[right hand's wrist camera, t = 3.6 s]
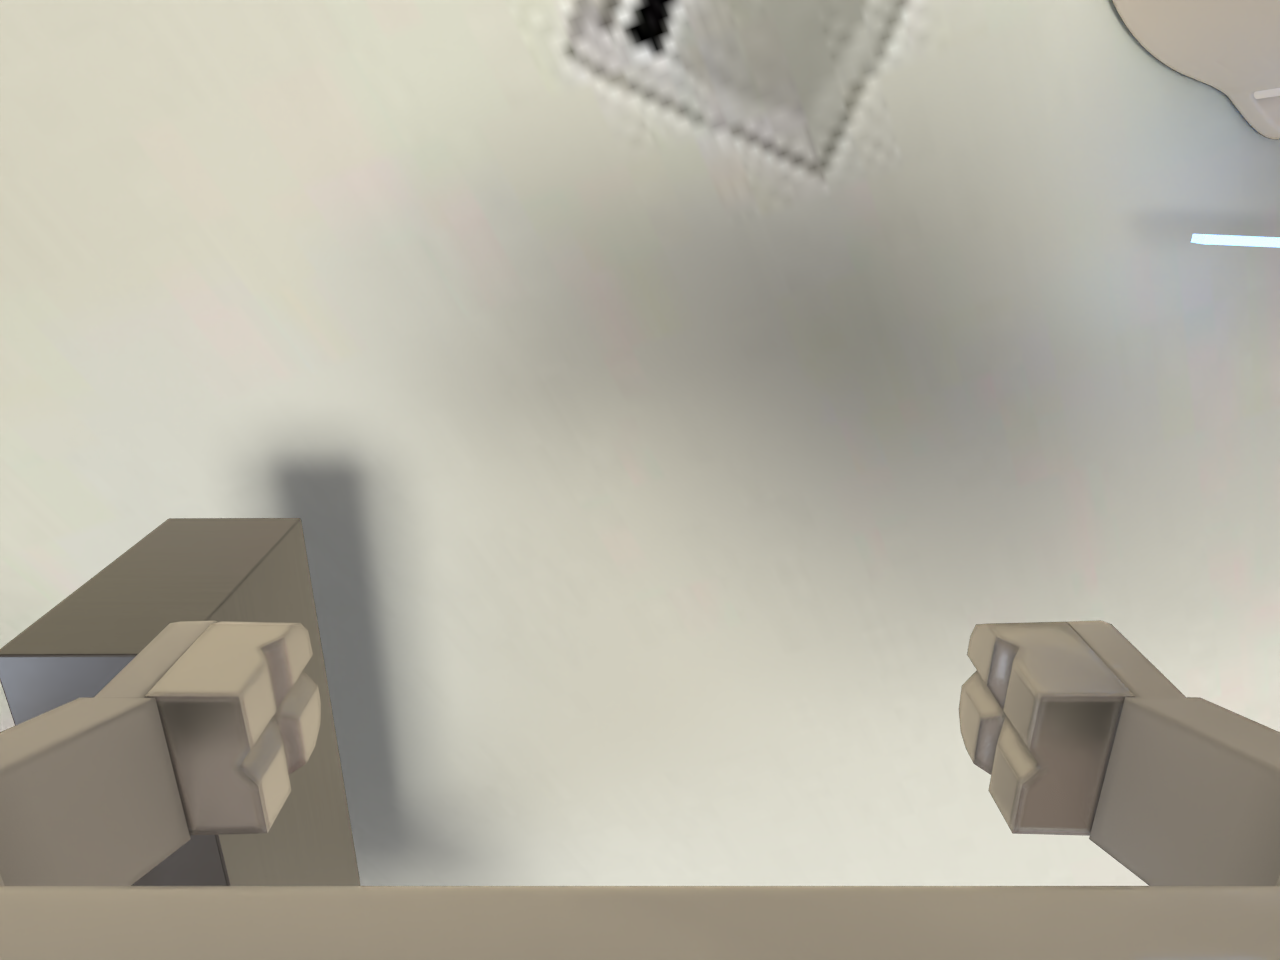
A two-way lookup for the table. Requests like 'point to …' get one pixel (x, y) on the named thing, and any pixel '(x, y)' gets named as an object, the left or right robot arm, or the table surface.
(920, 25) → the table surface
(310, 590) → the bar
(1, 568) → the table surface
